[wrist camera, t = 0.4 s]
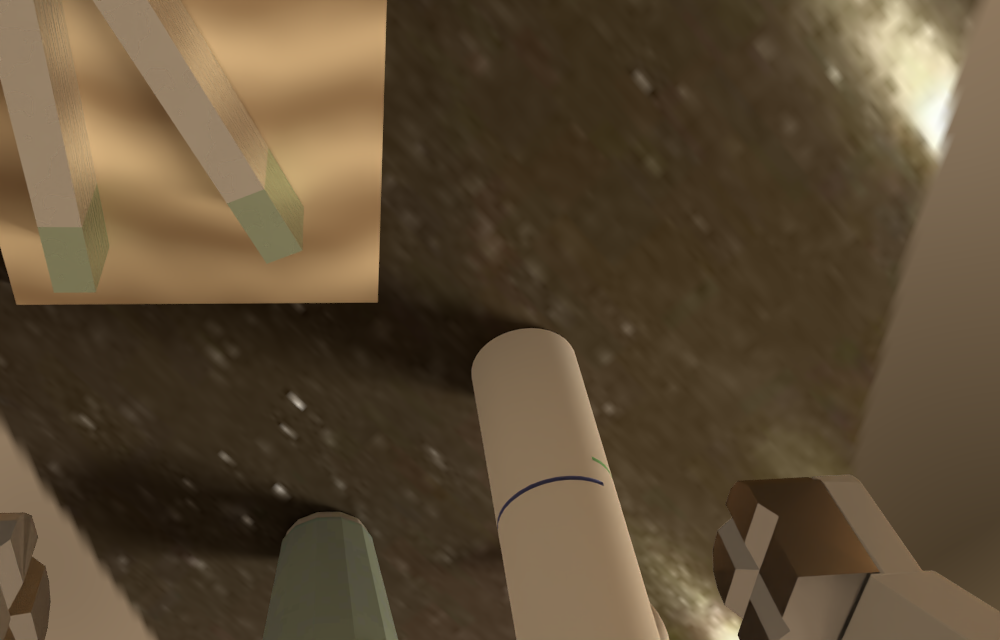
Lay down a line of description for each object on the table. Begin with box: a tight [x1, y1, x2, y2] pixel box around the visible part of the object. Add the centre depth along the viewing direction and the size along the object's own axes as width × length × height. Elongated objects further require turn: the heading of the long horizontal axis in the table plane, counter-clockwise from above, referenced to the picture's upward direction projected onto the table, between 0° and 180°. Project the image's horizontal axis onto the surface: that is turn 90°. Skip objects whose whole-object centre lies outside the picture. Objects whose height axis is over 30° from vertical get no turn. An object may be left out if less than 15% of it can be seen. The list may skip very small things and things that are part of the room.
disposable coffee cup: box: [263, 512, 398, 640], centre depth 66 cm, size 11×11×15 cm
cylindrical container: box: [471, 328, 661, 640], centre depth 54 cm, size 7×7×25 cm
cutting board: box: [0, 0, 387, 305], centre depth 46 cm, size 26×20×2 cm
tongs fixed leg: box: [0, 0, 110, 293], centre depth 44 cm, size 16×2×4 cm, turn 174°
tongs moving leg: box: [93, 0, 304, 264], centre depth 43 cm, size 19×4×5 cm, turn 19°
